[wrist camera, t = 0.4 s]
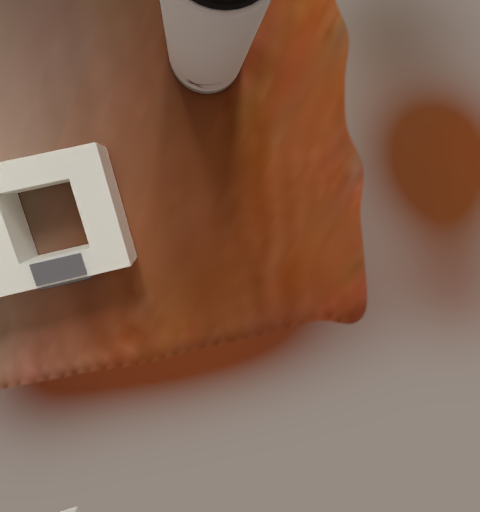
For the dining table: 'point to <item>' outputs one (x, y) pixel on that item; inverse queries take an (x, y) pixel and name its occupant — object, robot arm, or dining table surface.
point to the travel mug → (210, 39)
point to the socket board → (91, 212)
